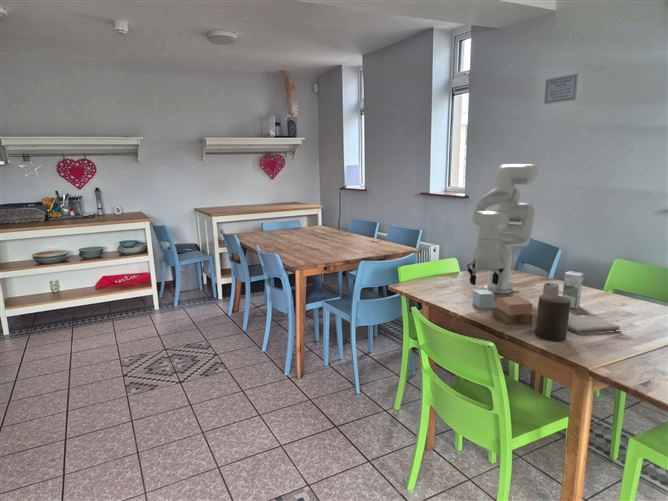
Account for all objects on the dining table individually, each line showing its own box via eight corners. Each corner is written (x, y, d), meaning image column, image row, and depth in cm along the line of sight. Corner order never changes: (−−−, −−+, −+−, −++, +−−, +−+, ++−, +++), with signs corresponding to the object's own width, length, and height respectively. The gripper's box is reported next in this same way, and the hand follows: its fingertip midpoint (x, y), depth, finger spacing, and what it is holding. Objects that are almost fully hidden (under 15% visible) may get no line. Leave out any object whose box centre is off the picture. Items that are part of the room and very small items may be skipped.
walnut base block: (516, 315, 168) (517, 305, 167) (531, 324, 158) (532, 314, 157) (492, 316, 166) (493, 306, 165) (506, 326, 156) (507, 315, 156)
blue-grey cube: (485, 303, 181) (486, 289, 180) (492, 307, 175) (494, 293, 174) (472, 303, 180) (473, 290, 179) (479, 308, 175) (480, 294, 173)
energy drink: (543, 310, 172) (546, 281, 170) (557, 313, 168) (561, 284, 166) (538, 313, 169) (541, 284, 166) (553, 317, 165) (556, 287, 162)
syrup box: (579, 306, 178) (584, 272, 175) (576, 309, 174) (580, 275, 171) (564, 303, 182) (568, 270, 179) (560, 306, 177) (564, 272, 174)
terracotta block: (517, 305, 166) (518, 296, 166) (531, 313, 158) (532, 303, 157) (495, 307, 165) (496, 297, 164) (509, 315, 156) (510, 304, 155)
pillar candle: (552, 344, 140) (557, 300, 137) (528, 333, 148) (532, 291, 146) (572, 339, 144) (578, 297, 141) (548, 329, 152) (553, 289, 149)
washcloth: (622, 333, 151) (623, 324, 150) (577, 336, 147) (578, 328, 147) (596, 321, 162) (597, 313, 162) (554, 324, 159) (555, 316, 158)
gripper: (502, 241, 177) (498, 281, 180) (463, 241, 175) (460, 282, 178) (512, 244, 170) (508, 286, 173) (471, 244, 167) (468, 286, 170)
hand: (483, 284), depth 175 cm, fingers open, 9 cm apart
